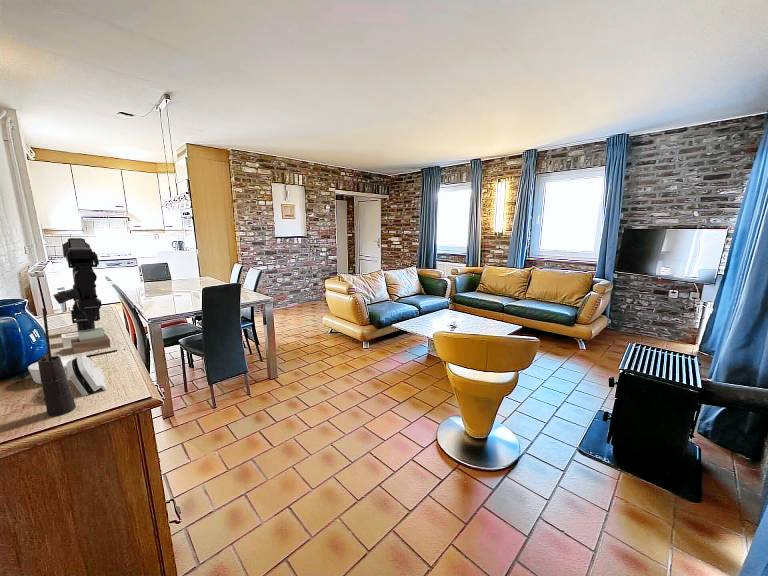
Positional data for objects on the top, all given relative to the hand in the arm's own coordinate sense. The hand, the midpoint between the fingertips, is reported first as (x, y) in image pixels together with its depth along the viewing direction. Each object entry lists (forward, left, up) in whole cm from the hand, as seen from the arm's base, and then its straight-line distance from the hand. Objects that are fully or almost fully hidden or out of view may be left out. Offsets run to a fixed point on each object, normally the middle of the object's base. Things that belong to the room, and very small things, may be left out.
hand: (89, 321), depth 119 cm
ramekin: (+24, -11, -12) cm, 29 cm away
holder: (-9, -3, -12) cm, 15 cm away
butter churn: (+50, -12, -12) cm, 53 cm away
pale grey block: (+2, 0, -10) cm, 10 cm away
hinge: (+37, -5, -12) cm, 39 cm away
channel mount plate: (+2, -1, -12) cm, 12 cm away
